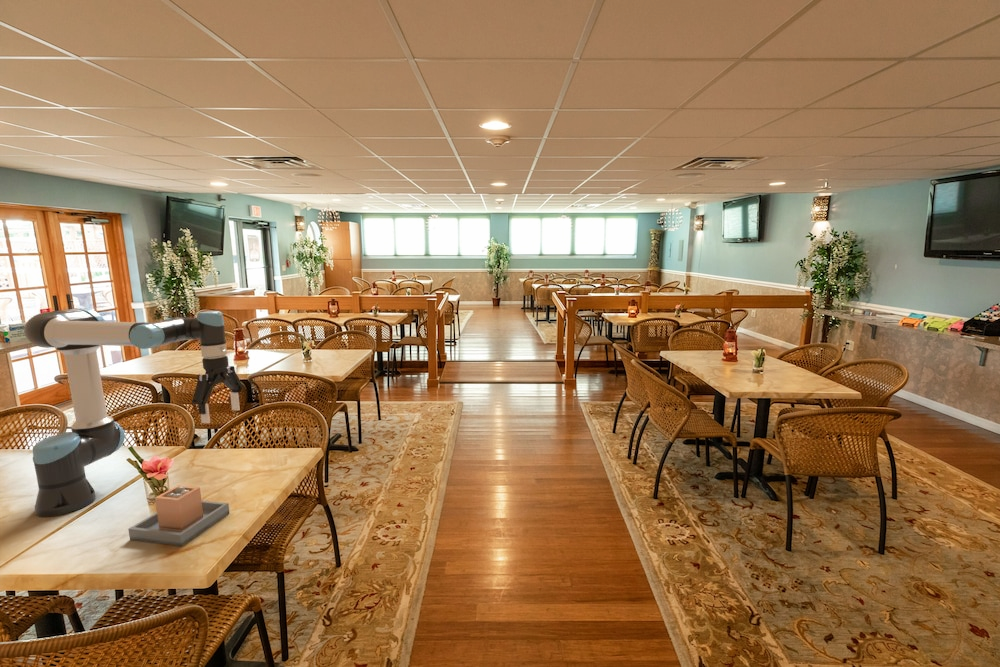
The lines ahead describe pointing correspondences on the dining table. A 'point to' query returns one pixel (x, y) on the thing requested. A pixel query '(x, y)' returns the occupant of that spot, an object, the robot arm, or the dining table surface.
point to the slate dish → (153, 534)
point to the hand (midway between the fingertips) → (221, 416)
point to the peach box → (179, 508)
